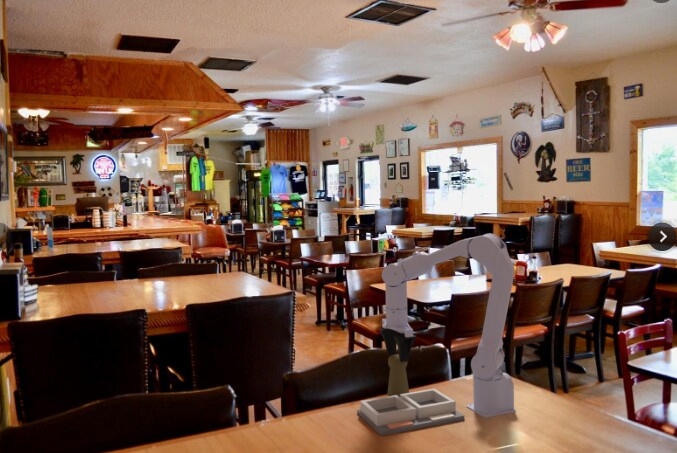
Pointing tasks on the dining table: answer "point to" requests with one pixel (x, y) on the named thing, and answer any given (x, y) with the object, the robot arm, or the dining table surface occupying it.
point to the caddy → (409, 411)
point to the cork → (397, 376)
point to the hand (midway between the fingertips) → (397, 357)
